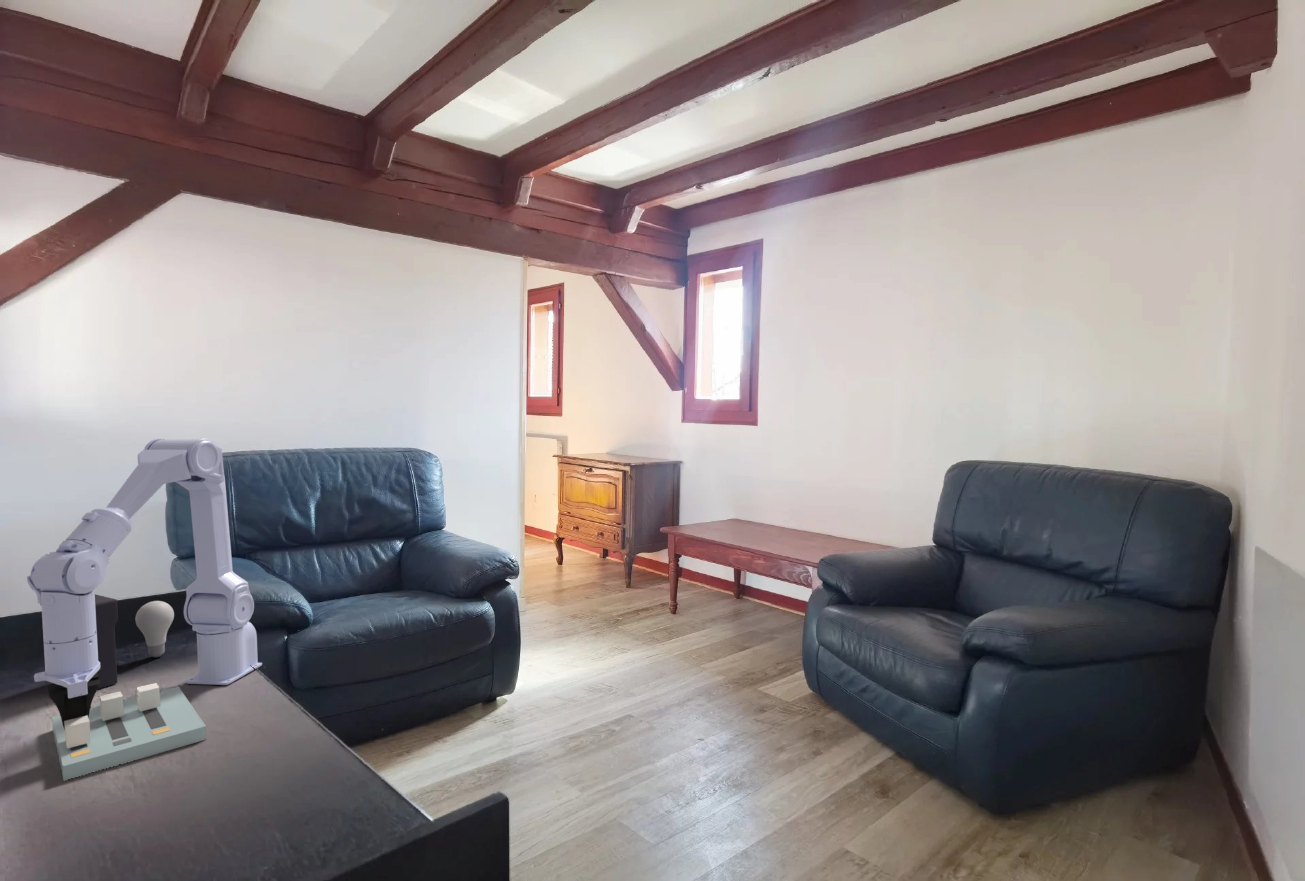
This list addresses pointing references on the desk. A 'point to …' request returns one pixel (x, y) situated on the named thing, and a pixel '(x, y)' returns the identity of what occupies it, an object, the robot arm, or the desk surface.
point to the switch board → (131, 734)
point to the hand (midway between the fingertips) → (75, 731)
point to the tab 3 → (148, 697)
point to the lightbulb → (155, 625)
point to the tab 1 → (77, 731)
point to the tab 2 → (111, 706)
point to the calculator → (106, 639)
